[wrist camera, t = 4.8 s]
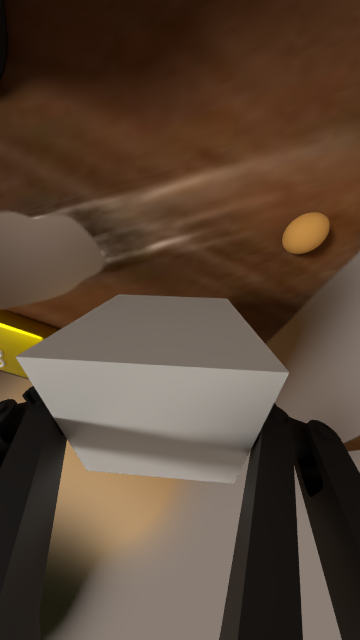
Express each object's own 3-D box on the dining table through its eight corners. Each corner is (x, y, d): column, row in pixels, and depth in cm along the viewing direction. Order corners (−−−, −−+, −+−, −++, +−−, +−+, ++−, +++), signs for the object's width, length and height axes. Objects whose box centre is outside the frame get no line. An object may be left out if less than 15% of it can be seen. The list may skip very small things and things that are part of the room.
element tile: (63, 372, 39) (48, 386, 35) (6, 354, 37) (-18, 367, 33) (65, 329, 33) (46, 341, 28) (-4, 305, 31) (-35, 314, 27)
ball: (281, 217, 21) (306, 207, 17) (315, 217, 21) (350, 207, 16) (271, 253, 23) (291, 253, 19) (302, 254, 23) (329, 254, 19)
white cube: (118, 294, 13) (15, 356, 5) (227, 298, 13) (289, 372, 5) (132, 373, 18) (86, 470, 10) (212, 377, 17) (233, 483, 9)
